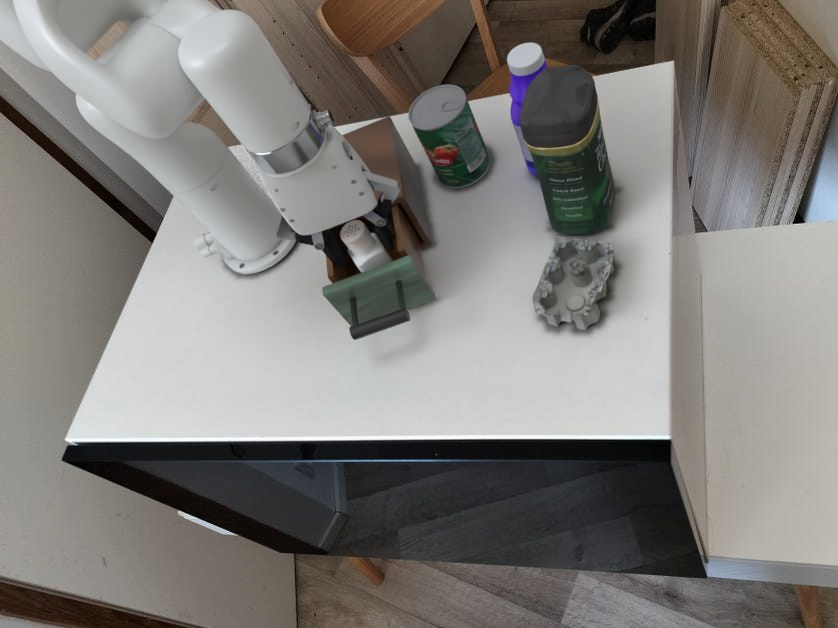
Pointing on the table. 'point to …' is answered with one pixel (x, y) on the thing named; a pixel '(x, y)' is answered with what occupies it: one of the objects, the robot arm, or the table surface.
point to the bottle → (523, 86)
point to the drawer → (380, 281)
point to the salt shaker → (364, 246)
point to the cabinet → (392, 169)
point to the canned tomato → (450, 136)
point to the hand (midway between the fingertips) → (365, 249)
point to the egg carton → (574, 281)
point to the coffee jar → (569, 149)
